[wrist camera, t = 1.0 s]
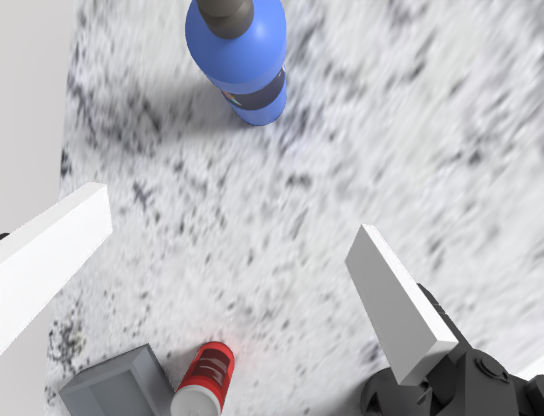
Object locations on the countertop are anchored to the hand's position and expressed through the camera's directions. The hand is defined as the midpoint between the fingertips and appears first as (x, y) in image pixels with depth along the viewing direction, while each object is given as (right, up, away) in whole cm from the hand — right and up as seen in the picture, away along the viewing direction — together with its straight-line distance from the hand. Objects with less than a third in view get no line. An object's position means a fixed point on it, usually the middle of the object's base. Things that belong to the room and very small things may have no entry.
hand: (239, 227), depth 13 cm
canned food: (-9, -28, +34) cm, 45 cm away
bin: (-26, -36, +36) cm, 57 cm away
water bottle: (0, +19, +28) cm, 34 cm away
